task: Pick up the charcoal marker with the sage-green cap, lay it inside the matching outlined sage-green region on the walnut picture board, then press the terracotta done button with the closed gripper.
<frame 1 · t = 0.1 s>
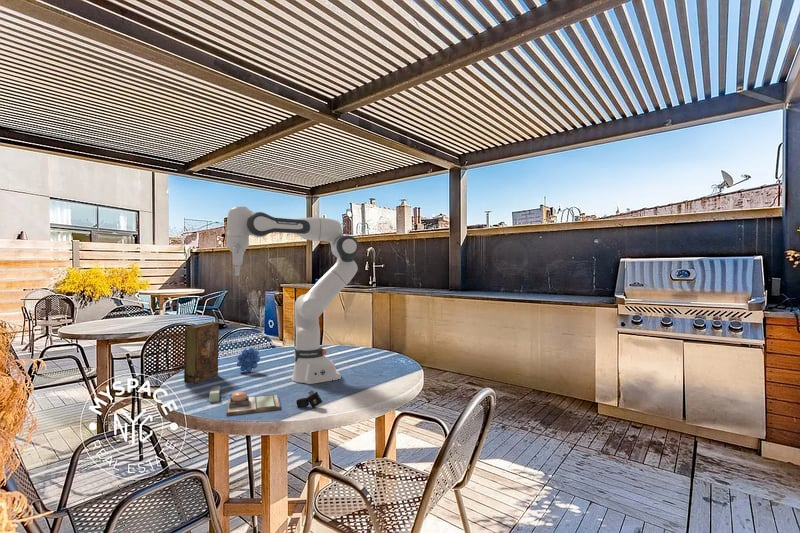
hand: (237, 275, 168), 48 cm above the table, tool pointing down, fingers open, 8 cm apart
marker: (214, 397, 152), on the table
grapes: (249, 371, 190), on the table
picture board: (253, 405, 143), on the table
black angular piece: (309, 408, 142), on the table
book: (202, 379, 176), on the table
done button: (239, 397, 142), point 4 cm above the table, slide at 0.0 cm
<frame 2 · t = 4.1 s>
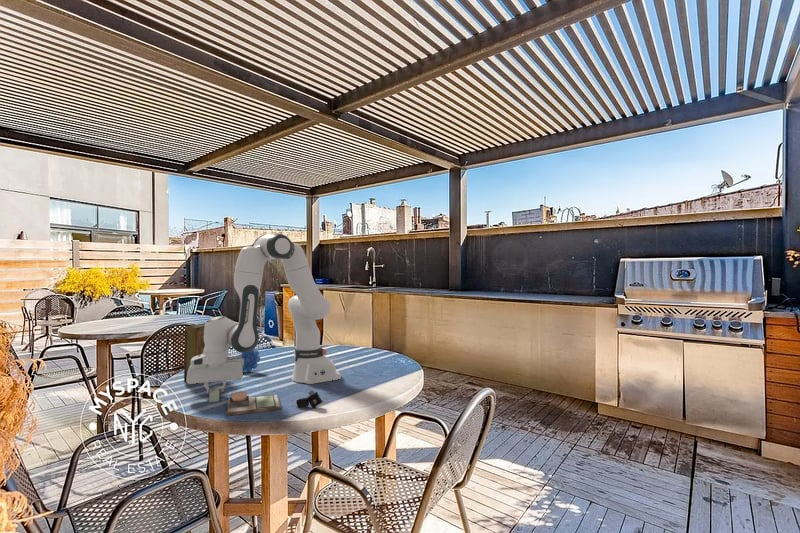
hand: (215, 392, 153), 2 cm above the table, tool pointing down, fingers closed on marker, 3 cm apart
marker: (214, 397, 152), on the table, touching gripper
everything else where it was.
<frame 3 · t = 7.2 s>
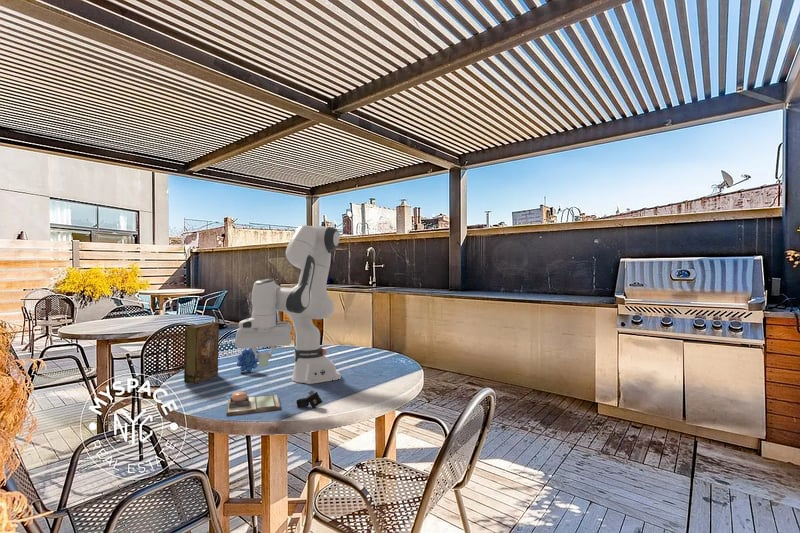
hand: (263, 358, 146), 17 cm above the table, tool pointing down, fingers closed on marker, 3 cm apart
marker: (263, 363, 145), point 15 cm above the table, touching gripper
everything else where it was.
when the fingers open (4 cm above the table, at t = 10.1 s): marker drops 1 cm, resting on picture board.
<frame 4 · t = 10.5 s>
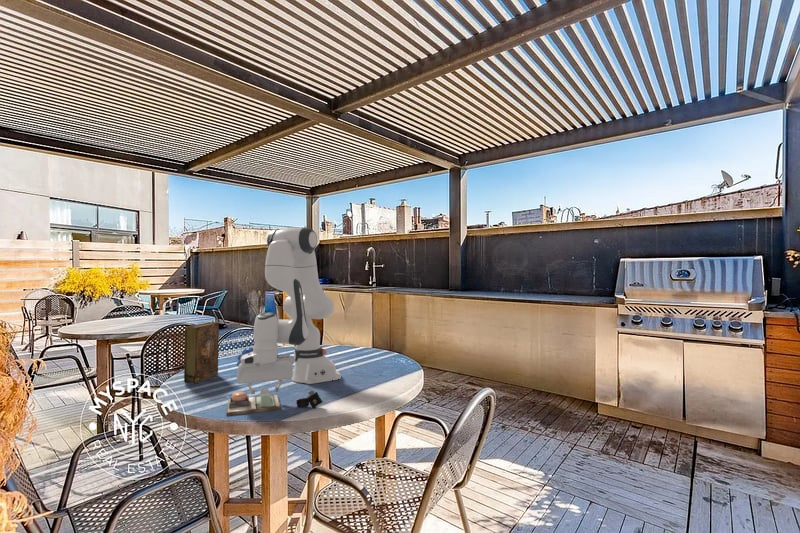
hand: (265, 392, 146), 4 cm above the table, tool pointing down, fingers open, 7 cm apart
marker: (265, 401, 145), point 1 cm above the table, touching picture board
everything else where it was.
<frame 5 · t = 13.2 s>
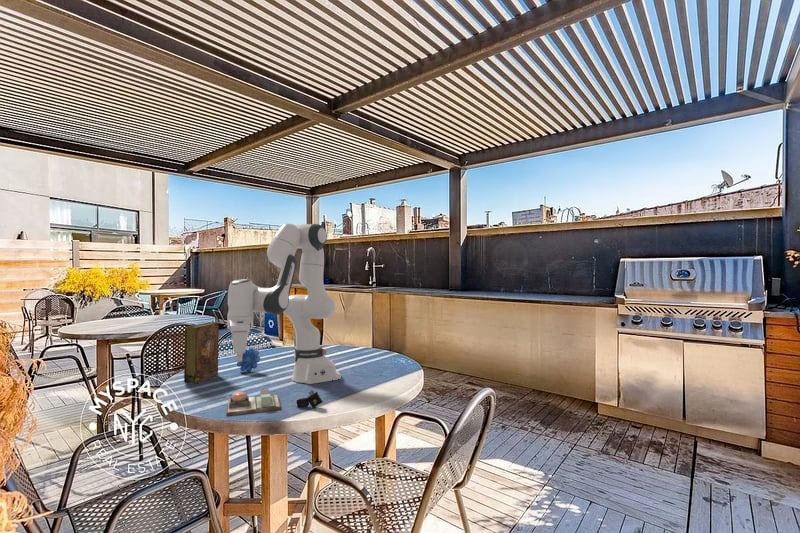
hand: (239, 360, 142), 17 cm above the table, tool pointing down, fingers closed
nothing on the table moved.
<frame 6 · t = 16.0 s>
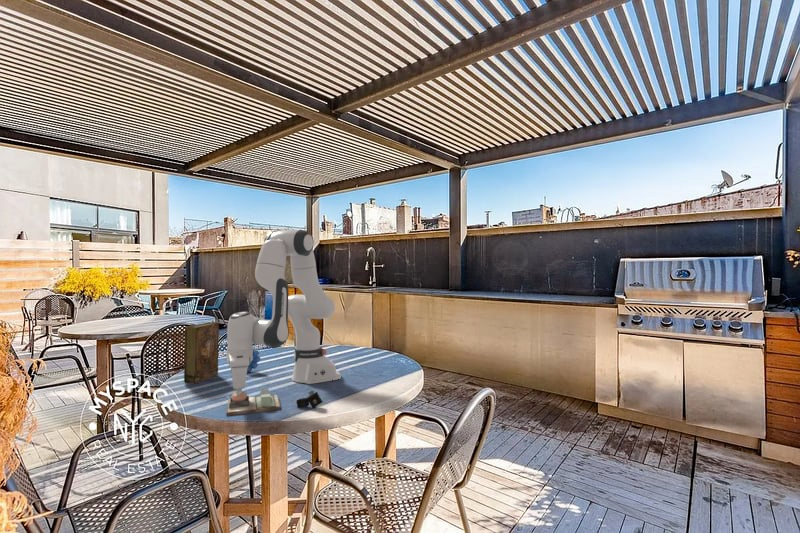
hand: (239, 394, 141), 5 cm above the table, tool pointing down, fingers closed, pressing on done button
done button: (239, 397, 142), point 4 cm above the table, slide at 0.2 cm, touching gripper
everything else where it was.
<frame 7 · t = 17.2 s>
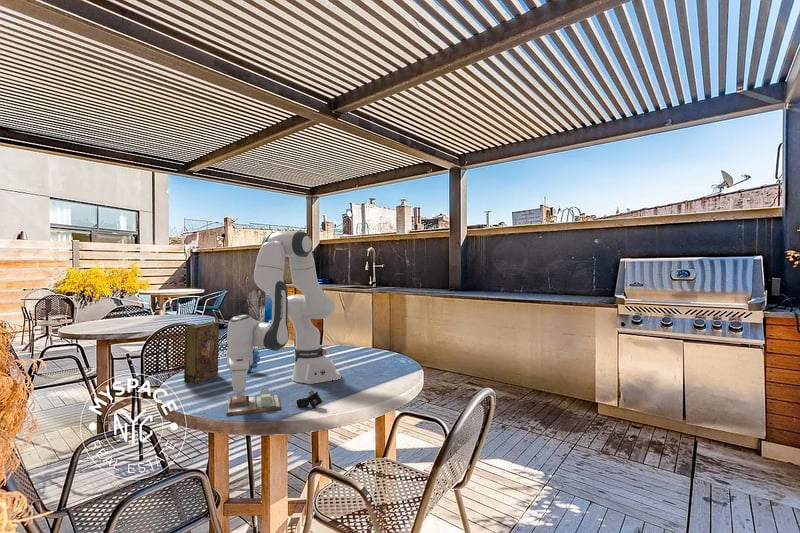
hand: (239, 397, 142), 4 cm above the table, tool pointing down, fingers closed
done button: (239, 400, 142), point 2 cm above the table, slide at 1.4 cm
everything else where it was.
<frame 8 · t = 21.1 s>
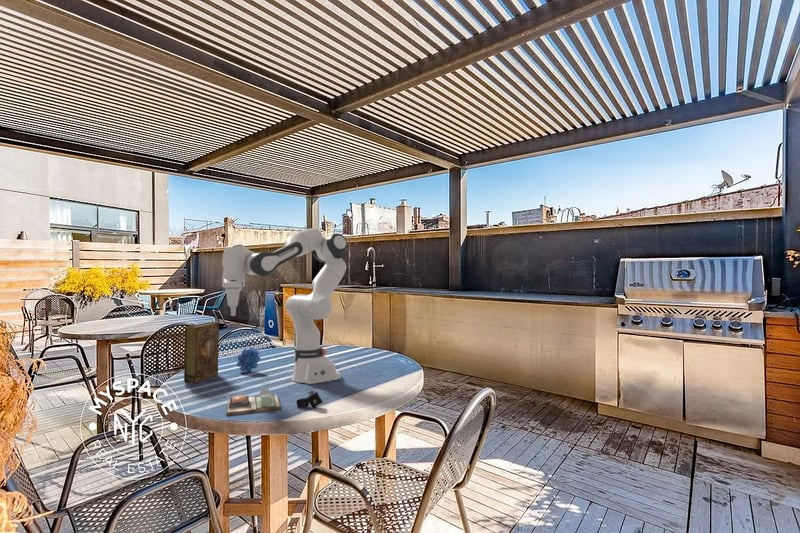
hand: (233, 315, 163), 31 cm above the table, tool pointing down, fingers closed
nothing on the table moved.
at the end: marker inside the target area on the picture board (0.0 cm from its centre), point 1.2 cm above the picture board's base; marker tilted 0°; done button slide at 1.4 cm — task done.
